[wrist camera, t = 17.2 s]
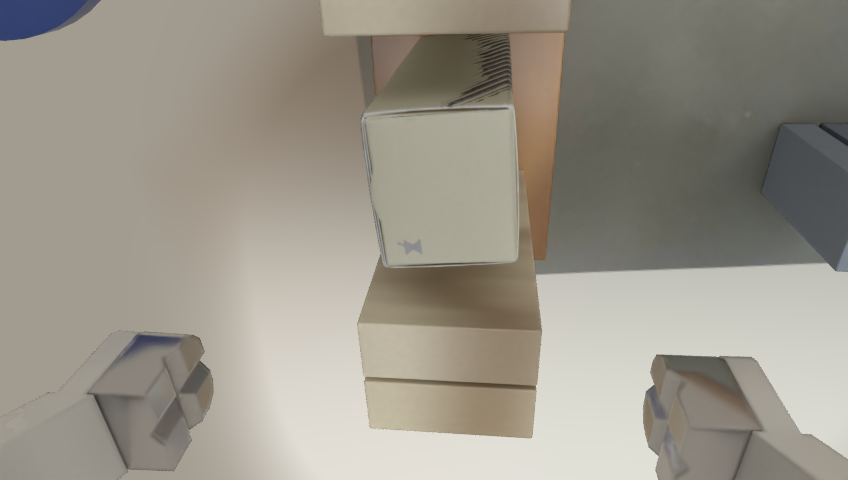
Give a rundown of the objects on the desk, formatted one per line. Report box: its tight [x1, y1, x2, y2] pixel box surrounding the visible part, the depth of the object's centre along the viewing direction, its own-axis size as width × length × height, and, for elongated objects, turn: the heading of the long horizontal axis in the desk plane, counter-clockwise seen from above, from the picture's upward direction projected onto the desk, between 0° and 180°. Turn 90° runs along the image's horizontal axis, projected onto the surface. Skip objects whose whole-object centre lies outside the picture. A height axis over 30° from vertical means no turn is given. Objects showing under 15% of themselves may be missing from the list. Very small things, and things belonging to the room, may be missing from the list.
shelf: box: [319, 0, 572, 438], centre depth 29 cm, size 9×20×31 cm, turn 2°
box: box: [361, 33, 519, 268], centre depth 21 cm, size 5×4×13 cm
